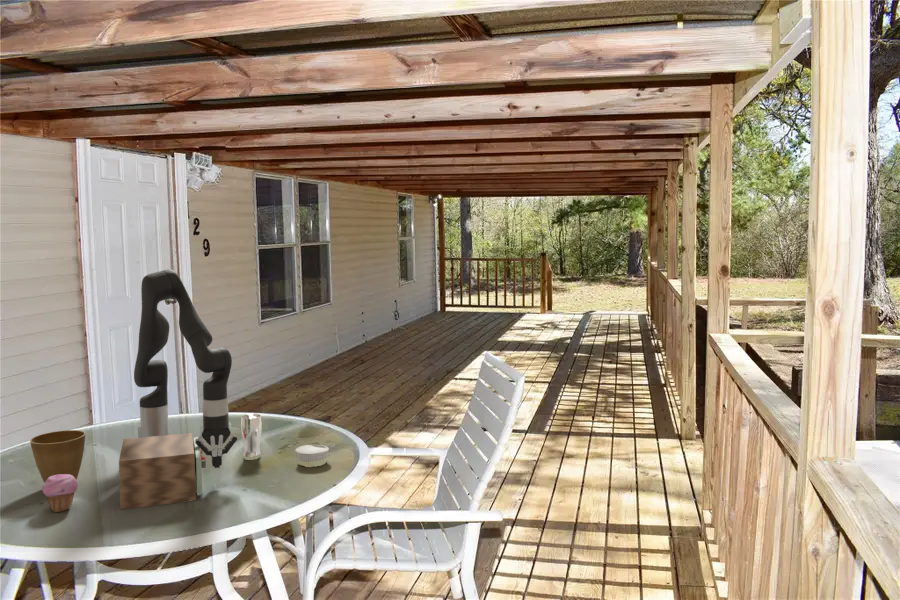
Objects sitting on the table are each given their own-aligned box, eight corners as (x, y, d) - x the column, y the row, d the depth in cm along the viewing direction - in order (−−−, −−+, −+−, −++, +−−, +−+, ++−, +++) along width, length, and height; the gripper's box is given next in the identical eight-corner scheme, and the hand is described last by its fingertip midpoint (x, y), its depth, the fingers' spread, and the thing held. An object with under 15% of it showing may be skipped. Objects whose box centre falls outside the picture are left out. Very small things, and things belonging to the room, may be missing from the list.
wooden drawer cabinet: (192, 475, 230) (191, 432, 229) (195, 500, 208) (194, 453, 207) (125, 482, 223) (123, 439, 221) (120, 509, 200) (118, 461, 199)
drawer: (204, 470, 231) (203, 436, 230) (207, 493, 209) (207, 456, 208) (132, 478, 223) (131, 443, 222) (128, 503, 202) (127, 465, 201)
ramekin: (334, 460, 246) (334, 445, 246) (320, 470, 236) (320, 454, 235) (305, 457, 249) (305, 443, 249) (289, 467, 239) (289, 452, 238)
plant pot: (74, 475, 229) (72, 427, 228) (96, 486, 220) (94, 435, 218) (24, 488, 218) (21, 437, 216) (44, 499, 208) (41, 446, 207)
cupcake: (39, 508, 201) (37, 474, 200) (72, 501, 207) (71, 467, 206) (48, 517, 194) (47, 482, 194) (83, 509, 201) (81, 474, 200)
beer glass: (265, 455, 251) (264, 413, 250) (258, 461, 245) (257, 418, 243) (246, 454, 252) (245, 413, 251) (238, 460, 245) (237, 418, 244)
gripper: (193, 417, 214) (195, 473, 215) (239, 413, 219) (240, 468, 220) (192, 411, 221) (194, 466, 222) (236, 408, 226) (237, 461, 227)
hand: (217, 467), depth 221 cm, fingers closed
